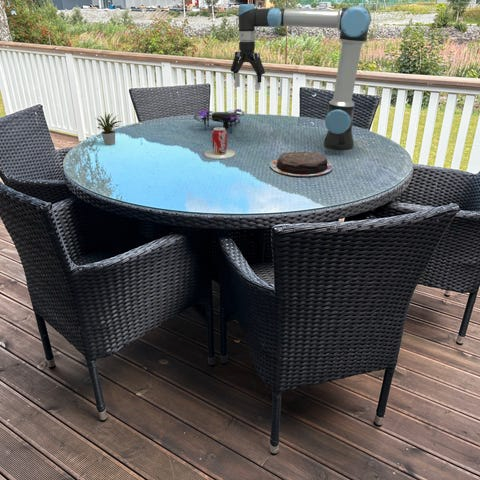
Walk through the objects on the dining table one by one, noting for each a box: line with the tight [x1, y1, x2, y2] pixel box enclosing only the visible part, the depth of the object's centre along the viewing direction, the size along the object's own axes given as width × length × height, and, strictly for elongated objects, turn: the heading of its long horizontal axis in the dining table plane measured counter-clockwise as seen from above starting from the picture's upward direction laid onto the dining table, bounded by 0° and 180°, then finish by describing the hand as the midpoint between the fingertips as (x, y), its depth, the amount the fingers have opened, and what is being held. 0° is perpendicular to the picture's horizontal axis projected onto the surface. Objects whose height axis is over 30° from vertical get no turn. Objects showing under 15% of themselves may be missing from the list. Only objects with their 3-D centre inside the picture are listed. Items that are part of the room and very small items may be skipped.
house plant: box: [95, 112, 122, 146], centre depth 235 cm, size 14×14×16 cm
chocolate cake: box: [269, 151, 333, 178], centre depth 205 cm, size 28×28×7 cm
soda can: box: [211, 126, 228, 155], centre depth 220 cm, size 7×7×12 cm
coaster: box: [204, 148, 236, 160], centre depth 223 cm, size 15×15×1 cm
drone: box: [193, 108, 245, 135], centre depth 266 cm, size 40×10×28 cm
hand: (247, 88), depth 224 cm, fingers open, 13 cm apart
